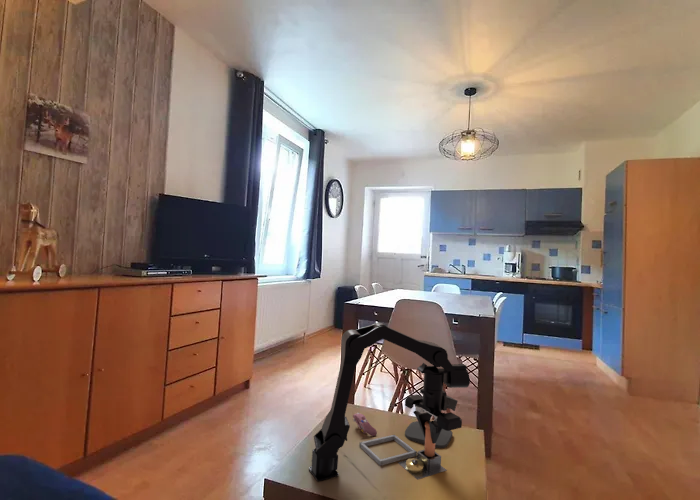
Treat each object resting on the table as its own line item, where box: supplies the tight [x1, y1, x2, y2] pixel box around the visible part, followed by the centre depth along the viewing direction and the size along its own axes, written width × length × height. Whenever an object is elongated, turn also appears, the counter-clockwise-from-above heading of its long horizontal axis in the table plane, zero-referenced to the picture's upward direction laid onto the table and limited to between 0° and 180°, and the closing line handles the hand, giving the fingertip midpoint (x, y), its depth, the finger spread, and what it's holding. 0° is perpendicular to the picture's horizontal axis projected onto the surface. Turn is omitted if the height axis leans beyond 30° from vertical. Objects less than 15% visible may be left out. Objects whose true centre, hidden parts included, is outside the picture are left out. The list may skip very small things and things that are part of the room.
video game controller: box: [352, 411, 378, 437], centre depth 128 cm, size 10×5×7 cm, turn 23°
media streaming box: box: [404, 420, 453, 449], centre depth 126 cm, size 15×15×3 cm
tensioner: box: [397, 448, 448, 480], centre depth 106 cm, size 11×9×4 cm
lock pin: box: [423, 421, 436, 457], centre depth 107 cm, size 4×4×9 cm
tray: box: [358, 434, 418, 466], centre depth 113 cm, size 14×12×2 cm
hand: (430, 440), depth 107 cm, fingers closed on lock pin, 3 cm apart
